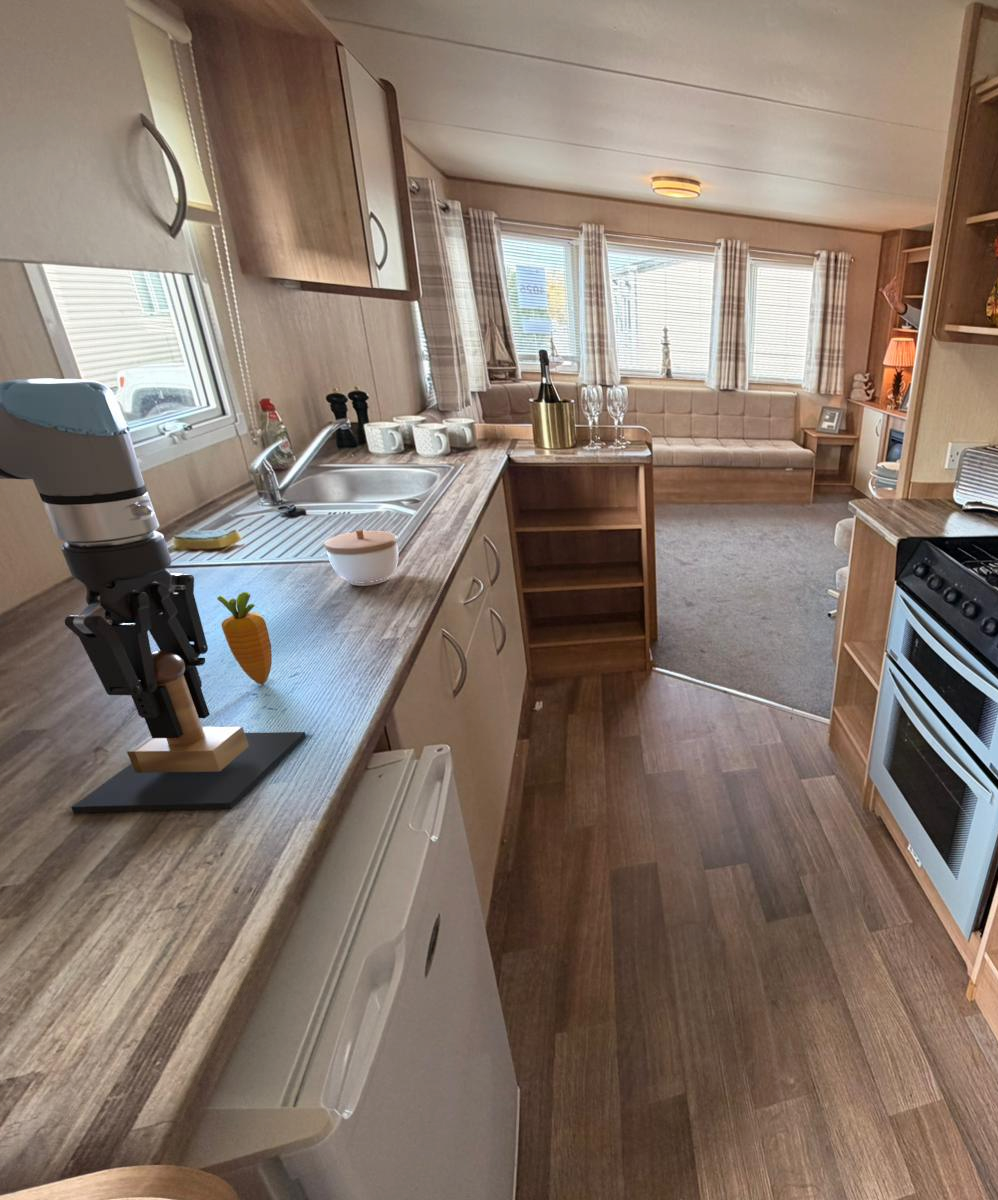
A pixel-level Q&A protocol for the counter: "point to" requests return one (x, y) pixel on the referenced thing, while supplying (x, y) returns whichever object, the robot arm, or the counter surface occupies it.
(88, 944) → the counter surface
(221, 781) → the mat
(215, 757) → the stamp
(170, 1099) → the counter surface
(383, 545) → the lidded bowl
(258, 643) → the carrot
